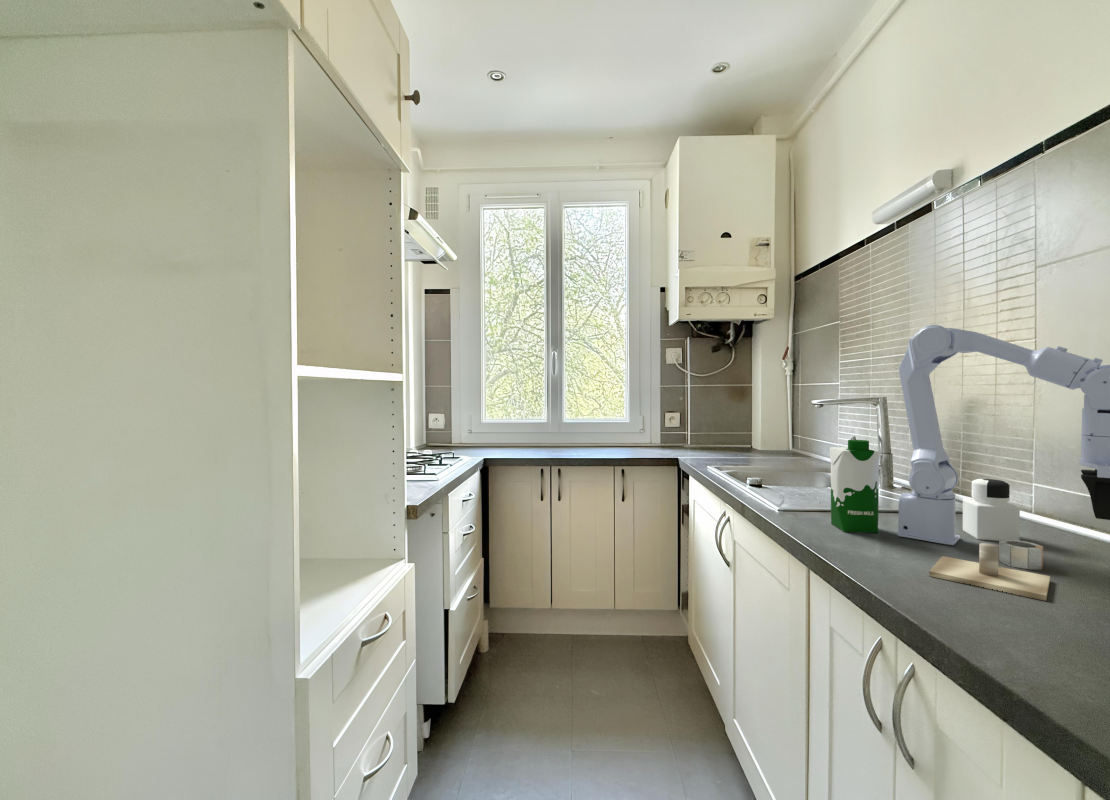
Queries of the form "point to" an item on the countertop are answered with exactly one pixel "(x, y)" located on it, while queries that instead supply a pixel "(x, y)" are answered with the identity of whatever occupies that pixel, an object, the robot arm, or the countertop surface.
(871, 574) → the countertop surface
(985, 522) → the medicine bottle
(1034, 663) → the countertop surface
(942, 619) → the countertop surface
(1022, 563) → the collar
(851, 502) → the milk carton
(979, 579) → the duct board
